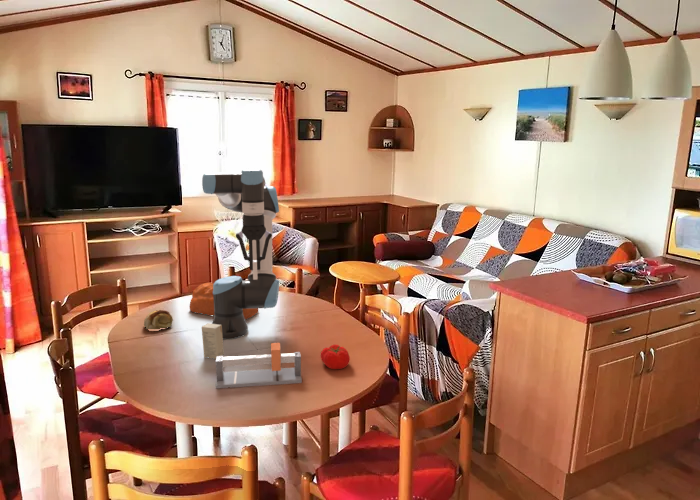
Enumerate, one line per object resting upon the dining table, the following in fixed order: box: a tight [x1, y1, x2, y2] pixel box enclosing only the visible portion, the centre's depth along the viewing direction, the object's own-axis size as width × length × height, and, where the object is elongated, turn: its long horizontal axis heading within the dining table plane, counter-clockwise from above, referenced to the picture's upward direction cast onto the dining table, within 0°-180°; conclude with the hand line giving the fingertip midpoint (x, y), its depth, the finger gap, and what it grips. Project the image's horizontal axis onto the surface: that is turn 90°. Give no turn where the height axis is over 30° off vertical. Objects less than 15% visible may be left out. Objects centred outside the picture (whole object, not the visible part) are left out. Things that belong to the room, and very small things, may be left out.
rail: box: [215, 351, 302, 382], centre depth 183 cm, size 28×4×7 cm, turn 99°
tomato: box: [320, 344, 351, 370], centre depth 195 cm, size 10×11×6 cm
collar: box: [270, 342, 282, 371], centre depth 183 cm, size 3×6×8 cm, turn 9°
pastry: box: [143, 309, 174, 330], centre depth 231 cm, size 14×12×8 cm
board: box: [215, 367, 302, 389], centre depth 184 cm, size 28×10×1 cm, turn 99°
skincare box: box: [201, 322, 225, 360], centre depth 201 cm, size 6×4×12 cm
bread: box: [189, 282, 259, 320], centre depth 249 cm, size 16×31×13 cm, turn 67°
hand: (255, 278), depth 195 cm, fingers closed
